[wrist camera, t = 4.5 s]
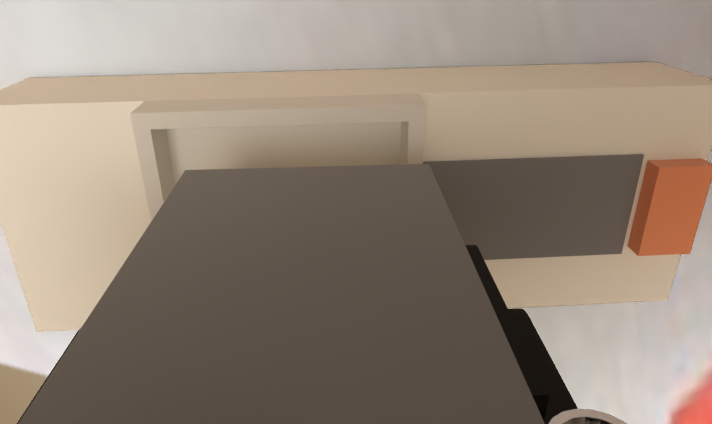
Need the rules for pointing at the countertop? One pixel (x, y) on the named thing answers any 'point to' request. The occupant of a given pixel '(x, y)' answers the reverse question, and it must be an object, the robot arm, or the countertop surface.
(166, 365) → the block
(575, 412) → the robot arm
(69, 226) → the power strip
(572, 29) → the countertop surface
